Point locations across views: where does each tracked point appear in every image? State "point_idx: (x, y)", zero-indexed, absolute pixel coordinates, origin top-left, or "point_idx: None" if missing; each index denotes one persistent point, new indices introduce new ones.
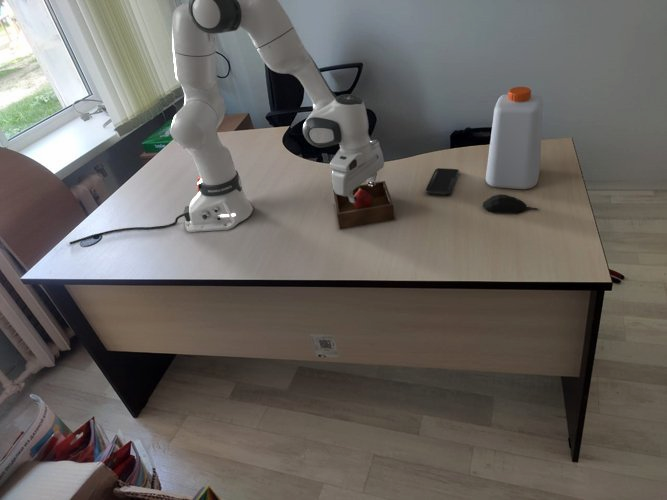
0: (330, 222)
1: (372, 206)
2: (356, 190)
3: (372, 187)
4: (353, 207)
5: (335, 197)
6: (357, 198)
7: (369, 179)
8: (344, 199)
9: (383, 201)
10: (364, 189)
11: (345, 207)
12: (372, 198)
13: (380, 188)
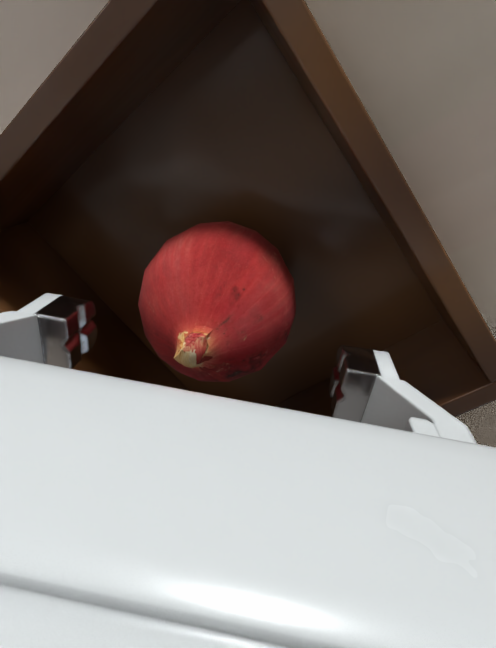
0: (27, 99)
1: (297, 300)
2: (359, 167)
3: (330, 382)
4: (243, 177)
5: (89, 49)
6: (142, 320)
7: (385, 384)
8: (283, 51)
9: (371, 340)
10: (398, 233)
11: (222, 108)
12: (395, 257)
13: (456, 335)
